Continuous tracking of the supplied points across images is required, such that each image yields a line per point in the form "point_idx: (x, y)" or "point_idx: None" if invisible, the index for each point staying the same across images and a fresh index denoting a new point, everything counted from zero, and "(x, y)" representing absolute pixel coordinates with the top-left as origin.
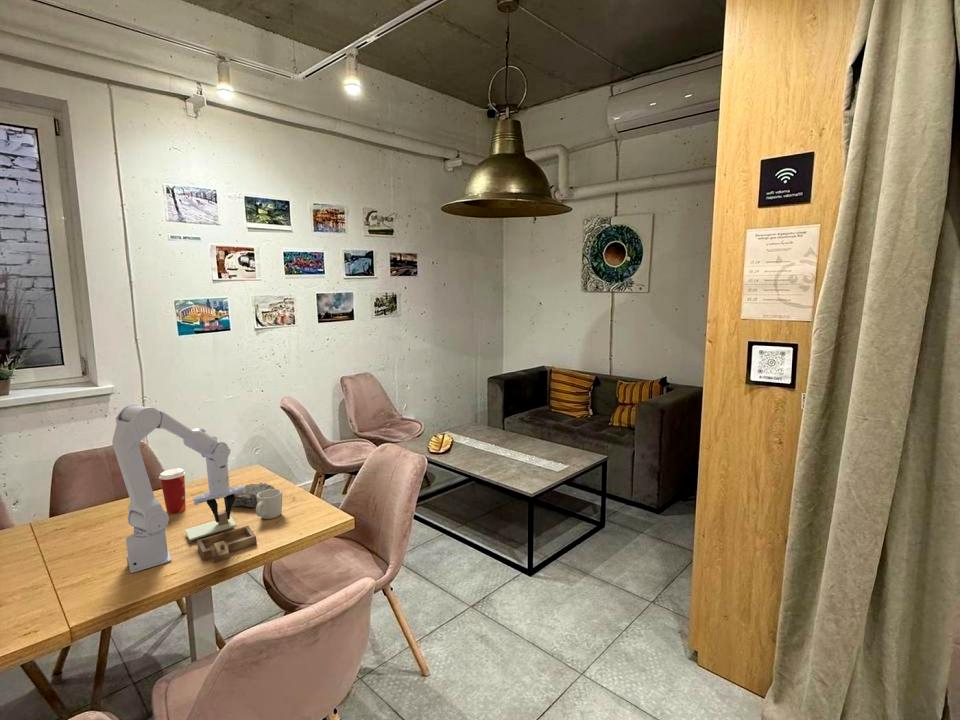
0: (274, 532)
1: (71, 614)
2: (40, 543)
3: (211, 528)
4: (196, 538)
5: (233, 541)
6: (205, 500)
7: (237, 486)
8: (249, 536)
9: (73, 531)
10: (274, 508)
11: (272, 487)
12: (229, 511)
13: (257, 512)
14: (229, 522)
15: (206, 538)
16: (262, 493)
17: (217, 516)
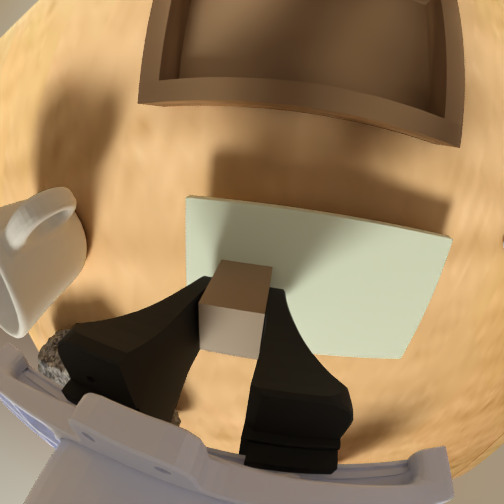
0: (88, 52)
1: None
2: (494, 440)
3: (322, 273)
4: (421, 230)
5: None
6: (343, 477)
7: (35, 432)
8: (181, 10)
9: (456, 458)
10: (17, 202)
11: (38, 367)
12: (176, 298)
13: (57, 195)
14: (212, 263)
15: (417, 115)
16: (17, 324)
17: (274, 308)
